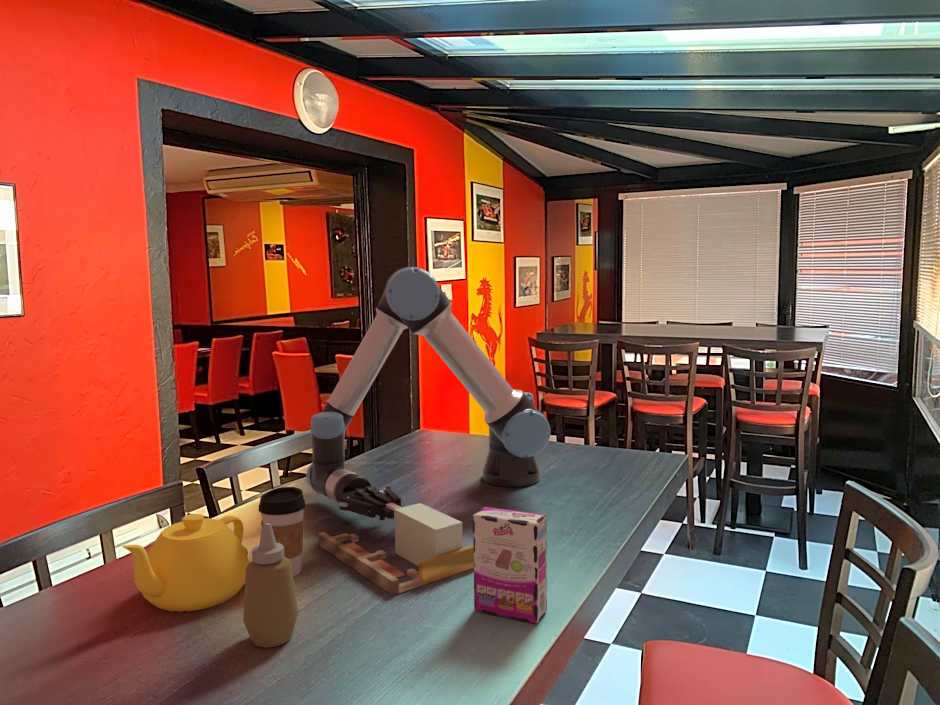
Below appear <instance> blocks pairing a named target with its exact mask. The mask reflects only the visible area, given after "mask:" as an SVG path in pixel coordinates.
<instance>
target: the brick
mask: <svg viewBox="0 0 940 705" xmlns="http://www.w3.org/2000/svg"><path fill="white" fill-rule="evenodd" d="M401 507H402V508H398V509H395V521H394V542H395V543H394V546H395V547H394V548H395V549H394V550H395V551H394V552H395V554H397V555H398V556H400V557H402V558H404V560H407V561H408V562H410V563H412V564H414V565H415V566H417V567H419V561H422V560H425V559H428V558H431V557H434V556H437V555H441V554H444V553H447V552H450V551H453V550H456V549H460V548H463V547H464V546H463V541H464V540H463V521H461V520H458V519H457V518H454V517H452V516H449V515H447V514H445V513H443V512H441V511H438V510H436V509H434V508H433V507H430V506H427V505H426V504H424V503H420V502H419V503H415V504H409V505H406V506H401Z"/></svg>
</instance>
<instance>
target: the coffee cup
mask: <svg viewBox="0 0 940 705" xmlns="http://www.w3.org/2000/svg"><path fill="white" fill-rule="evenodd" d="M305 508H306V500H305V499H304V493H303V490H302V489H301V488H299V487H295V486H284V487H283V486H282V487H278V488H274V489H271V490H269V491H267V492H264V493H263V494H262V495H261V496H260V498H259V504H258V512H259V513H260V518H261V520H260V525H261V527H262V526H263V524H265V523H270V524H271V526H272V530H273V533H274V537H275V540H276V543H280V544H282V545H283V546H284V557H286V558H288V559H289V560H290V561H291V566H292V573H293V577H295V576H297V575H299V574H300V573H301V571H302V564H303V562H302V558H303V546H304V544H303V543H304V528H305V526H304V525H305V516H304V509H305Z"/></svg>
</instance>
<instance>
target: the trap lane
mask: <svg viewBox="0 0 940 705" xmlns="http://www.w3.org/2000/svg"><path fill="white" fill-rule="evenodd" d="M345 541H351V542H349V543H345V544H344V543H343V542H345ZM356 542H360V536H359V535H357V534H356V533H351V534H348V533H342V534H338V535H335V536H331V535H329V534H328V533H326V532H325V531H322V532H319V533H318V546H319V547H321V548H322V549H324V550H325V551H327V552H328V553H330V554H331V555H333V556H334V557H335V558H336V559H339V560H340V561H342V562H343V563H344V564H346V565H347V566H349V567H350V568H352V569H353V570H355V571H357V573H359V574H361V575H362V576H364V577H365V578H367V579H368V580H369V581H371V582H372V583H374V584H376V585H377V586H378V587H380V588H381V589H383V590H384V591H386V592H388V593H389V594H390V595H391V596H395V595H398V594H399V595H400V594H401V593H404V592H407V591H411V590H413V589H415V588H418V587H421V586H425V585H427V584H431V583H433V582H437V581H439V580H442V579H446V578H449V577H452V576H454V575H456V574H460V573H463V572H465V571H469V570H471V569H472V570H473V569H474V548H473V543H472V544H469V545H467V546H463V548H460V549H456V550H453V551H450V552H447V553H444V554H441V555H437V556H434V557H431V558H428V559H425V560H422V561H419V566H418V570H416V569H414V568H409V569H407V570H406V574H405V573H404V572H402V571H400V570H398V568H395V567H394V566H393V565H391V564H389V563H388V562H386V561H384V560H385V559H387V558H388V552H386V551H384V550H382V549H380V550H376V551H375V552H373V553H371V552H370V551H368V550H366V549H365V548H364V547H362V546H361V545H358V544H357V543H356ZM405 576H408V577H409V578H410V580H407V581H405V582H401V583H399V582H400V581H399V580H400V579H398V578H402V577H405Z"/></svg>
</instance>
